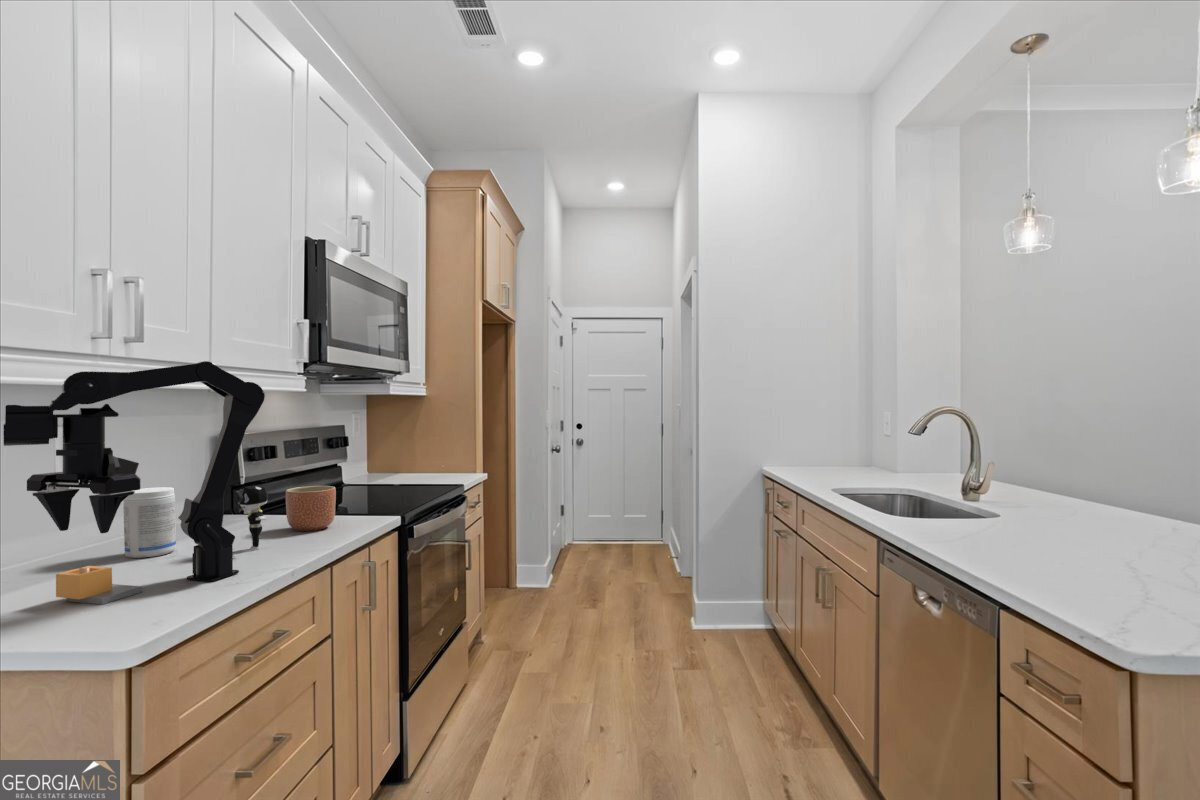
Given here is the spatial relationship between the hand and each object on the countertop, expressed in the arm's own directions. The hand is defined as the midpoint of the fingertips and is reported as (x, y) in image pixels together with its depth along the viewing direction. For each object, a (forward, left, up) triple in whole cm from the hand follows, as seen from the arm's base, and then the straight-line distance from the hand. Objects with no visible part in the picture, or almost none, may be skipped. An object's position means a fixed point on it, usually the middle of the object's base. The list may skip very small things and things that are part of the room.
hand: (84, 531), depth 108 cm
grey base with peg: (-2, -2, -12) cm, 12 cm away
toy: (-1, -38, -12) cm, 39 cm away
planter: (+2, -61, -12) cm, 62 cm away
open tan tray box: (0, 0, -11) cm, 11 cm away
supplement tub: (+19, -29, -12) cm, 37 cm away
